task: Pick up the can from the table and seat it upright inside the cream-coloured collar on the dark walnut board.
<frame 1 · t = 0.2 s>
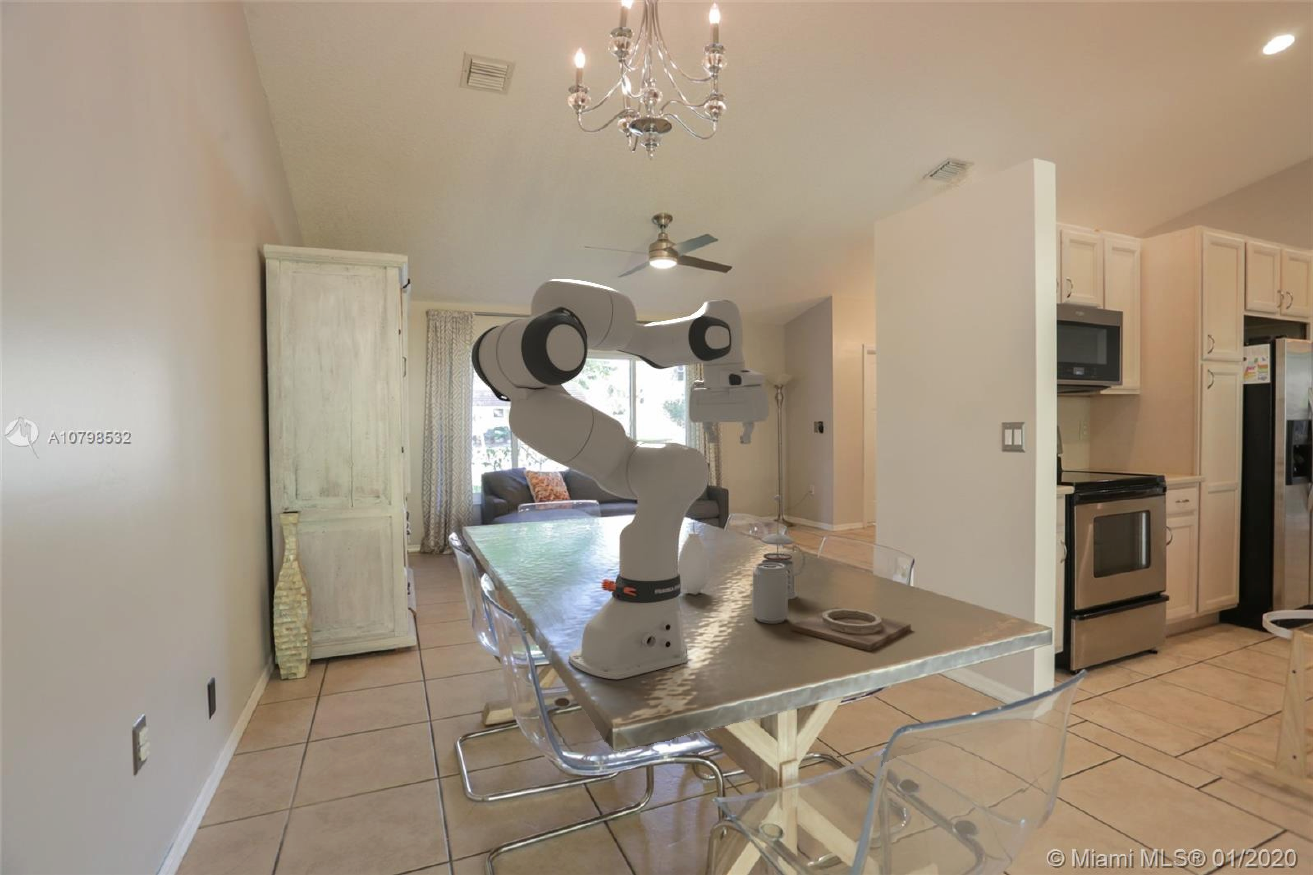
hand: (728, 443, 133), 38 cm above the table, tool pointing down, fingers open, 8 cm apart
french press: (781, 595, 156), on the table
seat board: (851, 630, 129), on the table
sauce bottle: (693, 594, 157), on the table
can: (770, 620, 136), on the table
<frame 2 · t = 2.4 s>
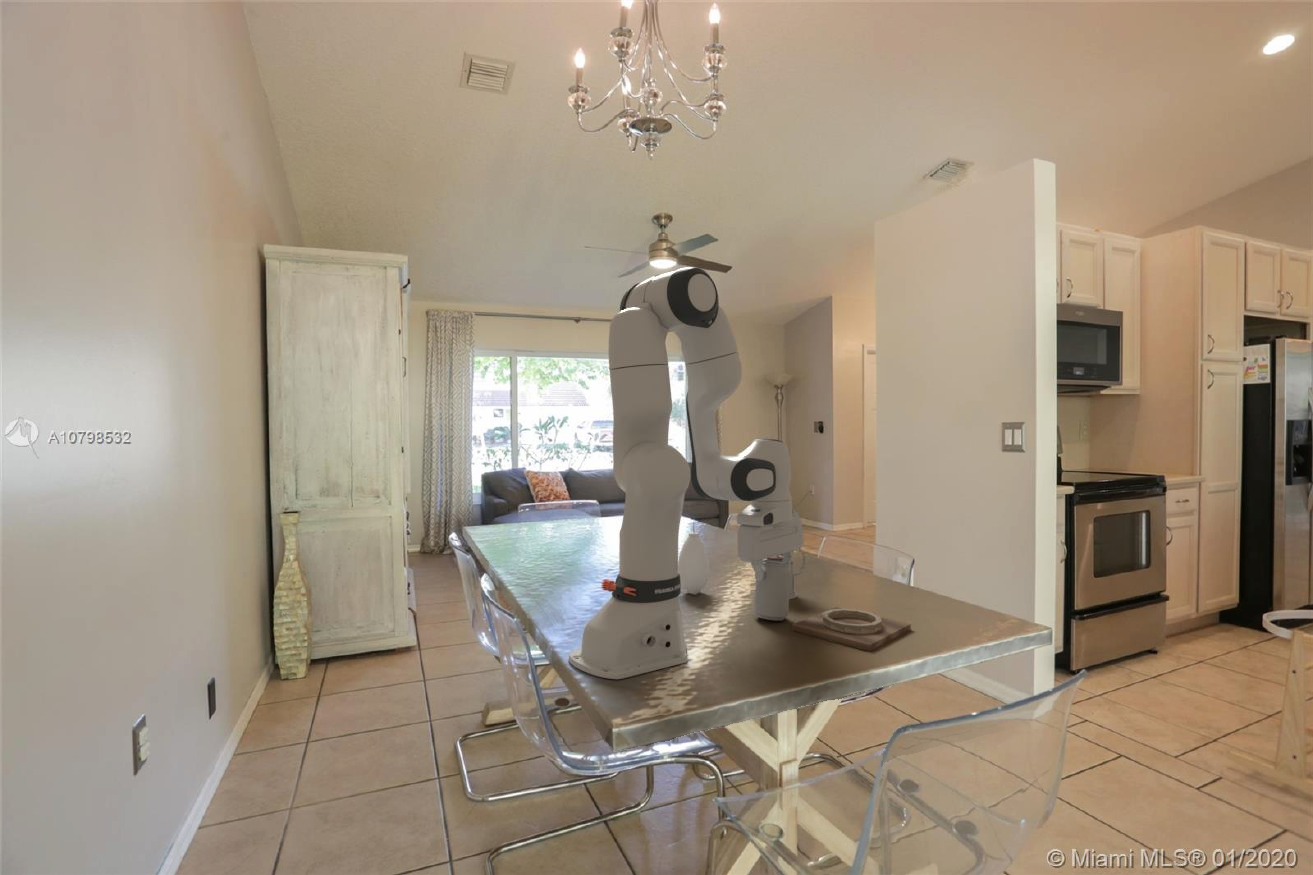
hand: (773, 575, 136), 9 cm above the table, tool pointing down, fingers open, 8 cm apart
can: (770, 618, 136), on the table, touching gripper
everything else where it was.
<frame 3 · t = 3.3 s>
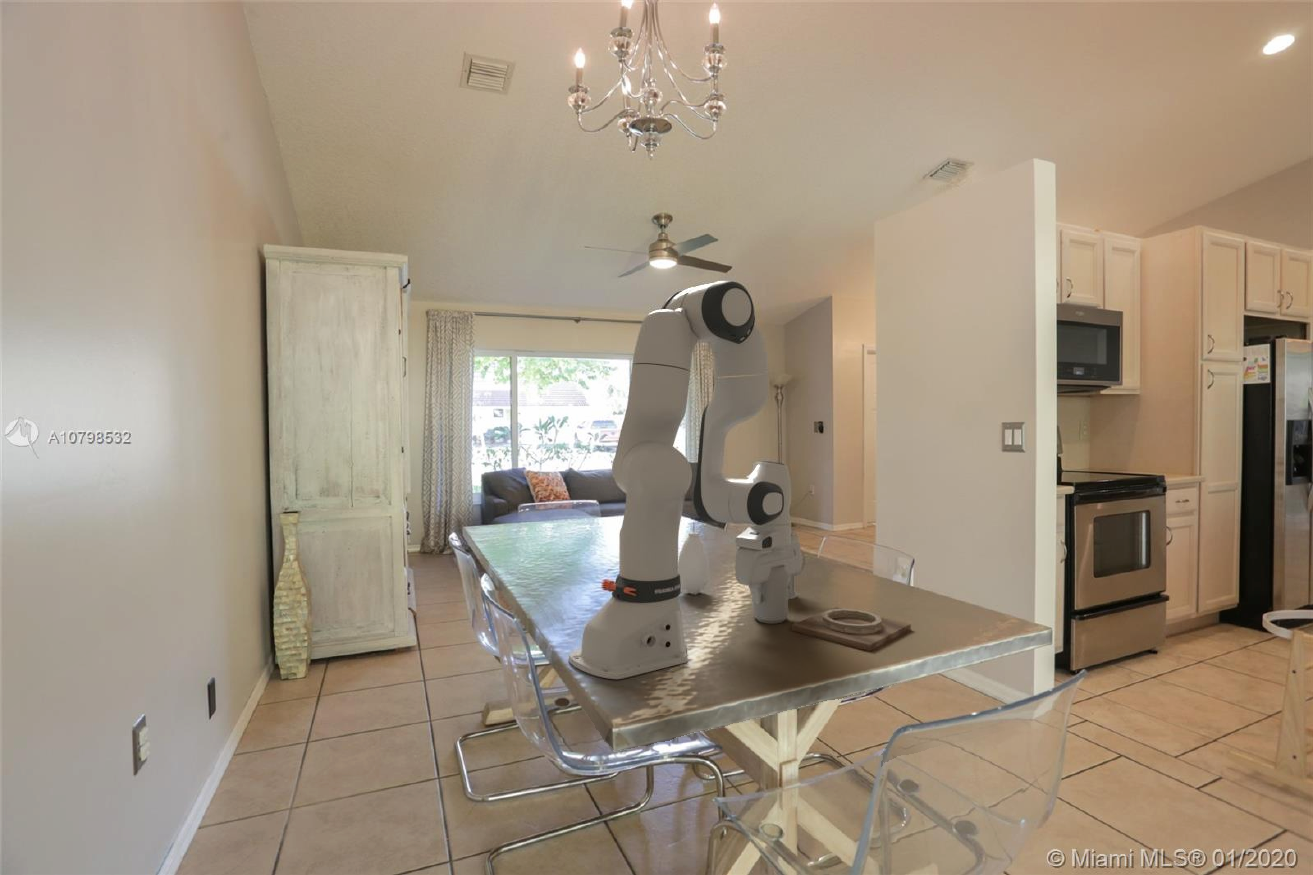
hand: (770, 598, 136), 5 cm above the table, tool pointing down, fingers closed on can, 8 cm apart
can: (770, 620, 136), on the table, touching gripper
everything else where it was.
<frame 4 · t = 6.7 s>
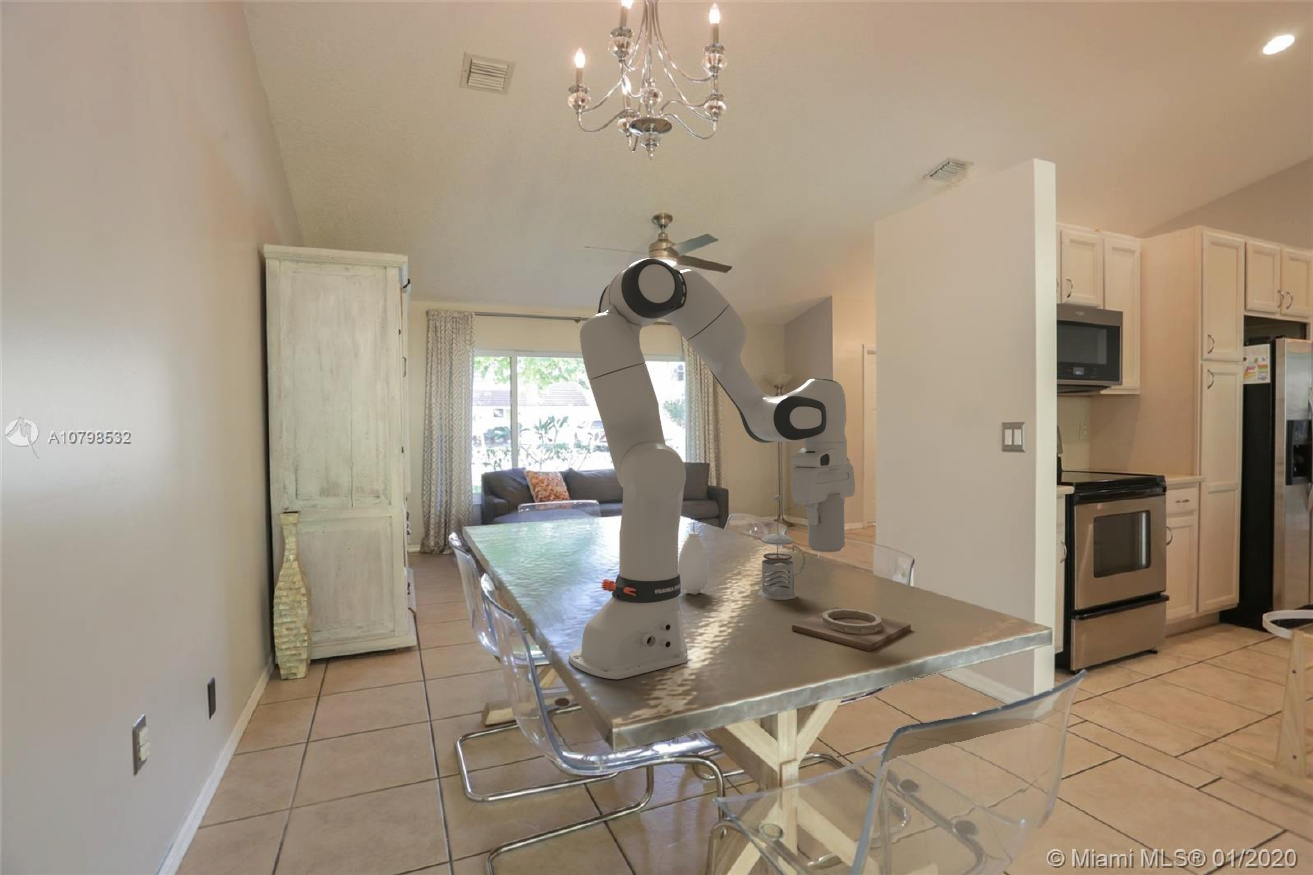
hand: (825, 521, 131), 22 cm above the table, tool pointing down, fingers closed on can, 7 cm apart
can: (826, 550, 131), point 16 cm above the table, touching gripper
everything else where it was.
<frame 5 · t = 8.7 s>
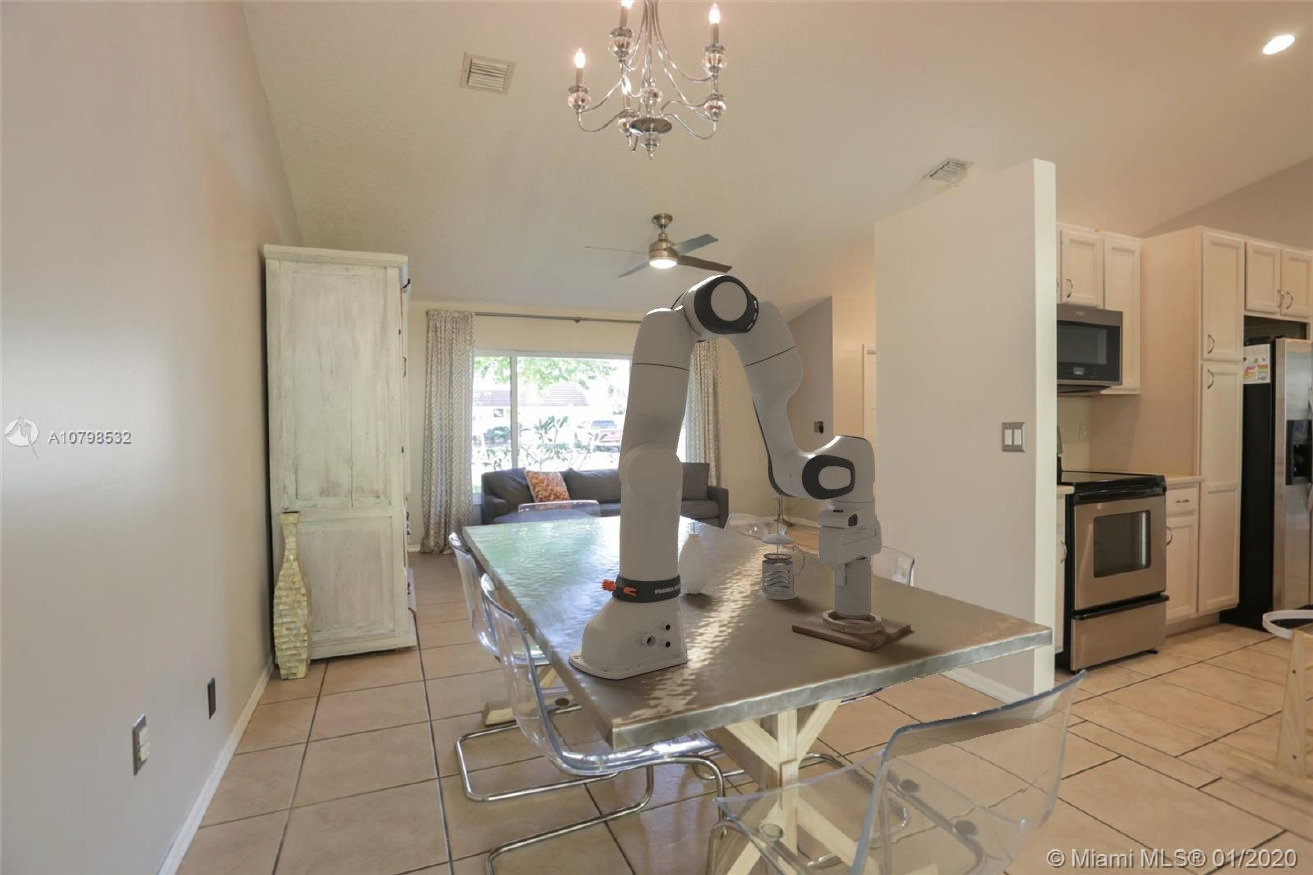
hand: (851, 581, 128), 10 cm above the table, tool pointing down, fingers closed on can, 7 cm apart
can: (852, 615, 129), point 3 cm above the table, touching gripper
everything else where it was.
when the fingers open (7 cm above the table, at t = 9.9 s): can stays where it is, resting on seat board.
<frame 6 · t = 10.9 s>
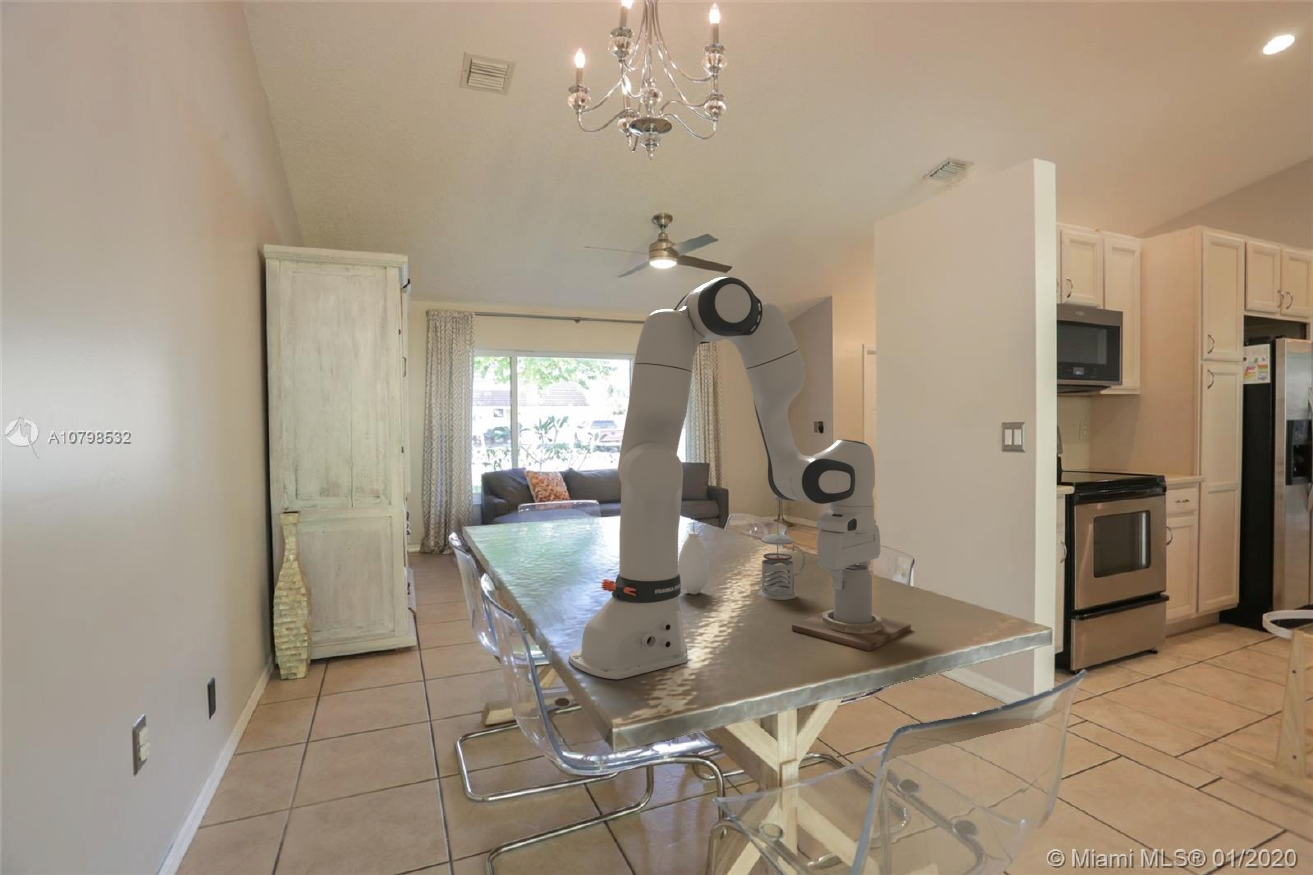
hand: (850, 585, 128), 9 cm above the table, tool pointing down, fingers open, 8 cm apart
can: (852, 625, 129), point 1 cm above the table, touching gripper, seat board
everything else where it was.
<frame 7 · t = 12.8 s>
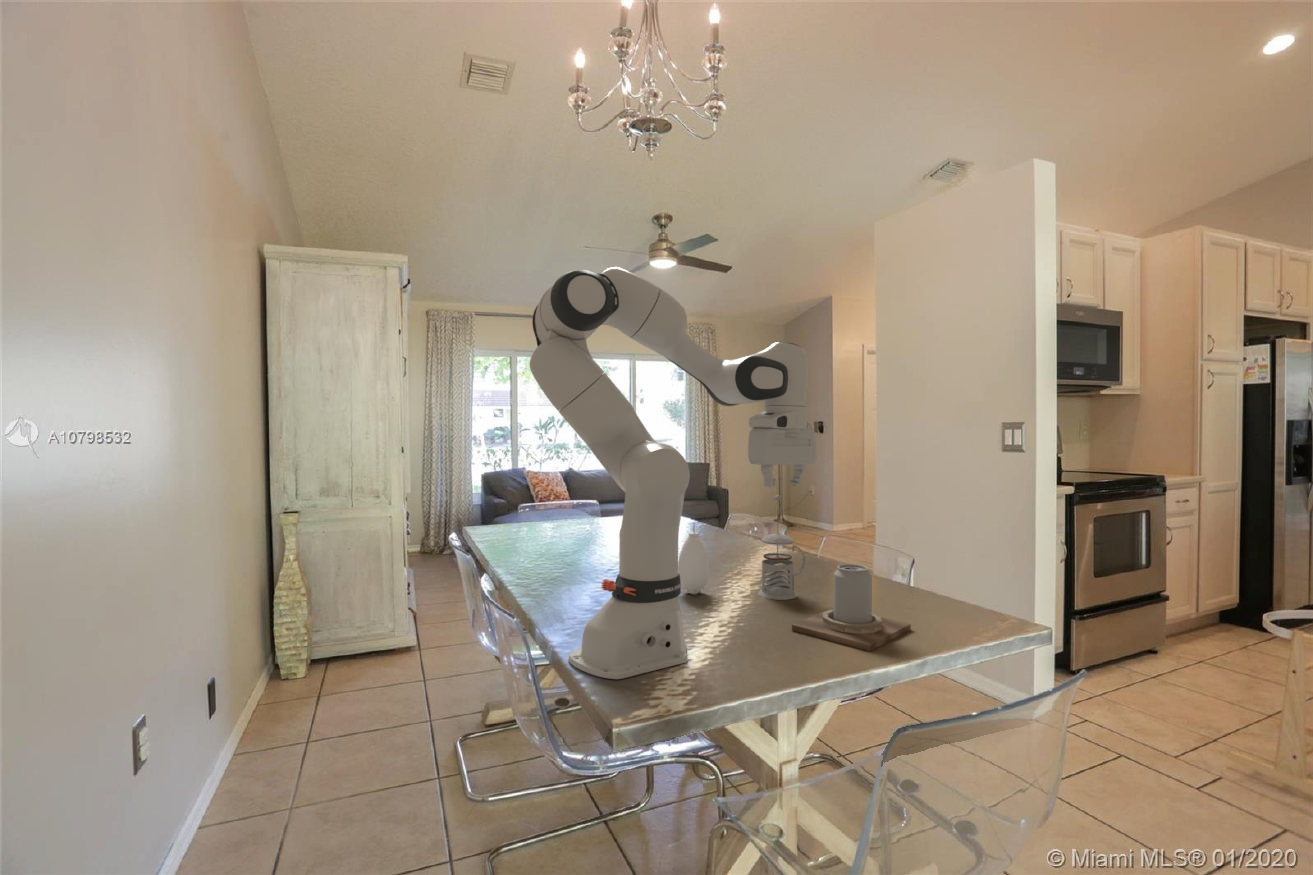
hand: (782, 486, 131), 29 cm above the table, tool pointing down, fingers open, 8 cm apart
can: (852, 625, 129), point 1 cm above the table, touching seat board
everything else where it was.
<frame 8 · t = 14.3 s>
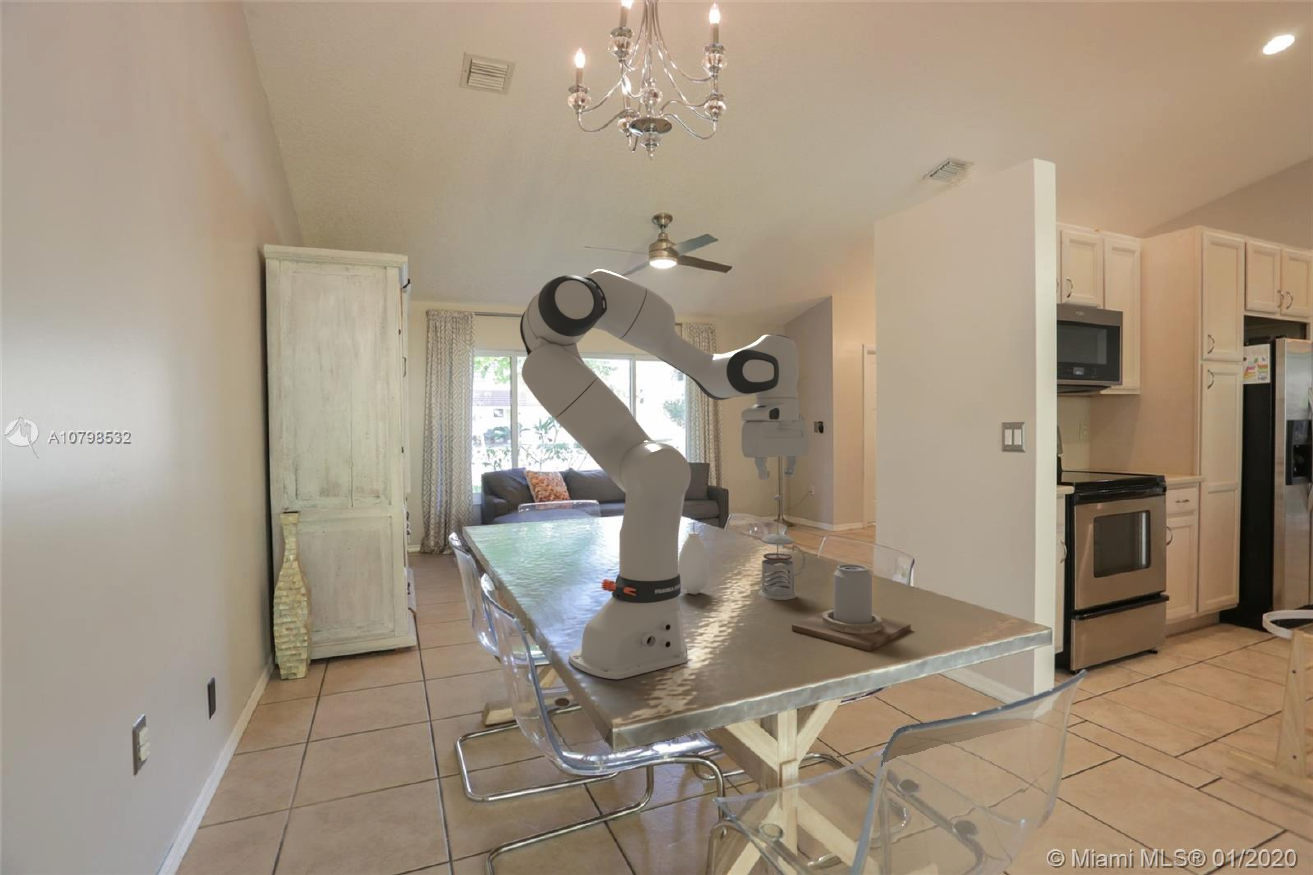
hand: (777, 478, 132), 31 cm above the table, tool pointing down, fingers open, 8 cm apart
nothing on the table moved.
at the end: can 0.2 cm off-centre on the seat board, point 1.0 cm above the seat board's base; can tilted 0°; the gripper is holding nothing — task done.
